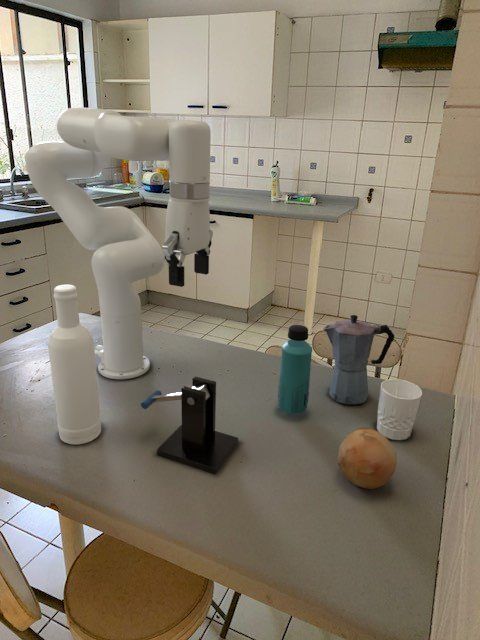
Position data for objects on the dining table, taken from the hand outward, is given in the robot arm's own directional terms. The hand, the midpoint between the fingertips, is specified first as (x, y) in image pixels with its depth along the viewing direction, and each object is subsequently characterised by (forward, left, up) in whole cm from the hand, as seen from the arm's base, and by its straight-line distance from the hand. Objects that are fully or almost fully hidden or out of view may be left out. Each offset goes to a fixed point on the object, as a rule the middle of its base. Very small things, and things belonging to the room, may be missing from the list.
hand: (189, 279), depth 93 cm
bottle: (-13, -21, -28) cm, 37 cm away
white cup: (+43, +8, -28) cm, 52 cm away
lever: (+6, -15, -19) cm, 25 cm away
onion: (+40, -10, -28) cm, 50 cm away
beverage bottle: (+22, +5, -28) cm, 36 cm away
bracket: (+10, -15, -28) cm, 33 cm away
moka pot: (+32, +18, -28) cm, 47 cm away
